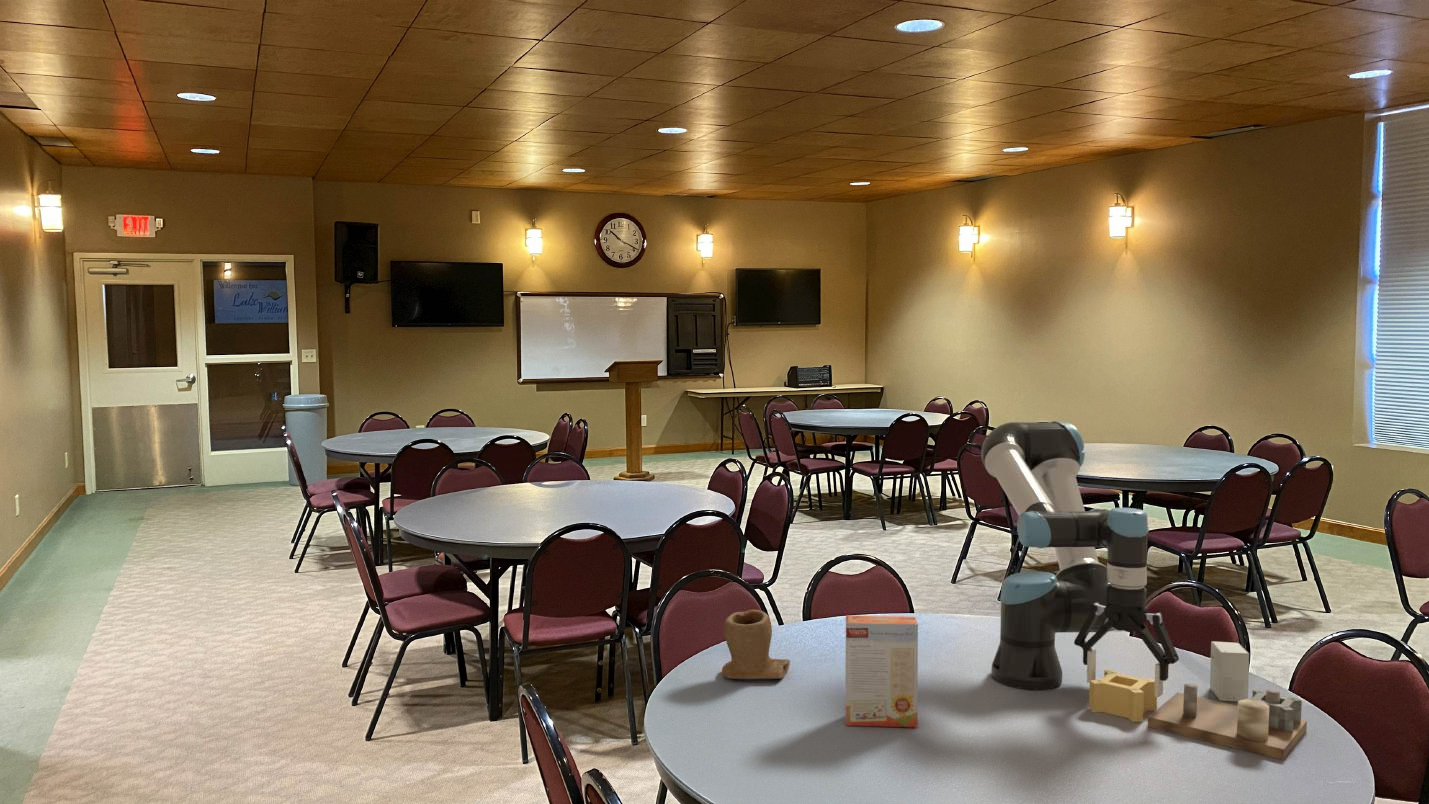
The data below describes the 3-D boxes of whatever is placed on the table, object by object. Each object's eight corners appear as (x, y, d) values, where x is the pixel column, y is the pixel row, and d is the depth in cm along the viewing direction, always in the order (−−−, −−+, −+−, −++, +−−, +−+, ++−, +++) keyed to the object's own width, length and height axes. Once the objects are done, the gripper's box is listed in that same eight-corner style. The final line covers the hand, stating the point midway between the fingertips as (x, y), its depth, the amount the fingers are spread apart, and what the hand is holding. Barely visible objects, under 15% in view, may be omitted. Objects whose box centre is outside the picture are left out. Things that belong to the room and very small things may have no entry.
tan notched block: (1086, 710, 214) (1087, 681, 214) (1106, 696, 222) (1106, 668, 222) (1140, 723, 207) (1141, 694, 207) (1158, 708, 215) (1159, 680, 215)
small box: (1248, 703, 218) (1250, 653, 218) (1219, 701, 220) (1221, 651, 219) (1237, 689, 226) (1238, 642, 225) (1209, 688, 227) (1210, 640, 227)
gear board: (1147, 726, 206) (1148, 686, 205) (1177, 701, 219) (1178, 664, 219) (1283, 760, 190) (1285, 717, 189) (1306, 730, 203) (1308, 690, 203)
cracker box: (915, 717, 211) (916, 615, 209) (917, 729, 205) (919, 623, 203) (844, 714, 212) (845, 613, 210) (845, 726, 206) (846, 621, 204)
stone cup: (719, 686, 229) (719, 618, 228) (724, 668, 241) (724, 604, 240) (788, 688, 227) (789, 620, 226) (790, 670, 239) (790, 605, 238)
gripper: (1059, 579, 218) (1057, 679, 219) (1185, 598, 202) (1182, 706, 203) (1073, 573, 224) (1071, 671, 225) (1197, 591, 207) (1194, 696, 209)
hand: (1124, 688), depth 214 cm, fingers open, 13 cm apart
